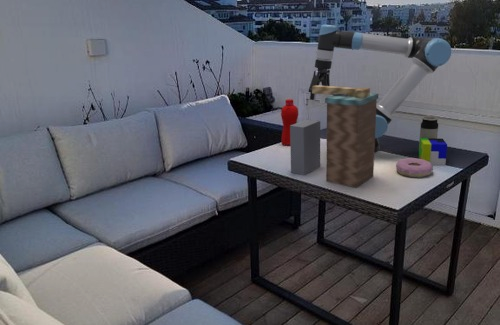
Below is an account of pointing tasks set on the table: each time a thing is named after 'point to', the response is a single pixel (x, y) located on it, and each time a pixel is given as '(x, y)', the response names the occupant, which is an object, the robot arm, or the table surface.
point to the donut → (414, 167)
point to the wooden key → (341, 91)
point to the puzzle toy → (433, 150)
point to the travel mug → (429, 127)
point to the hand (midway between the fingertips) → (317, 105)
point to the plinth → (305, 146)
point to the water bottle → (288, 120)
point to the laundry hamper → (350, 138)
